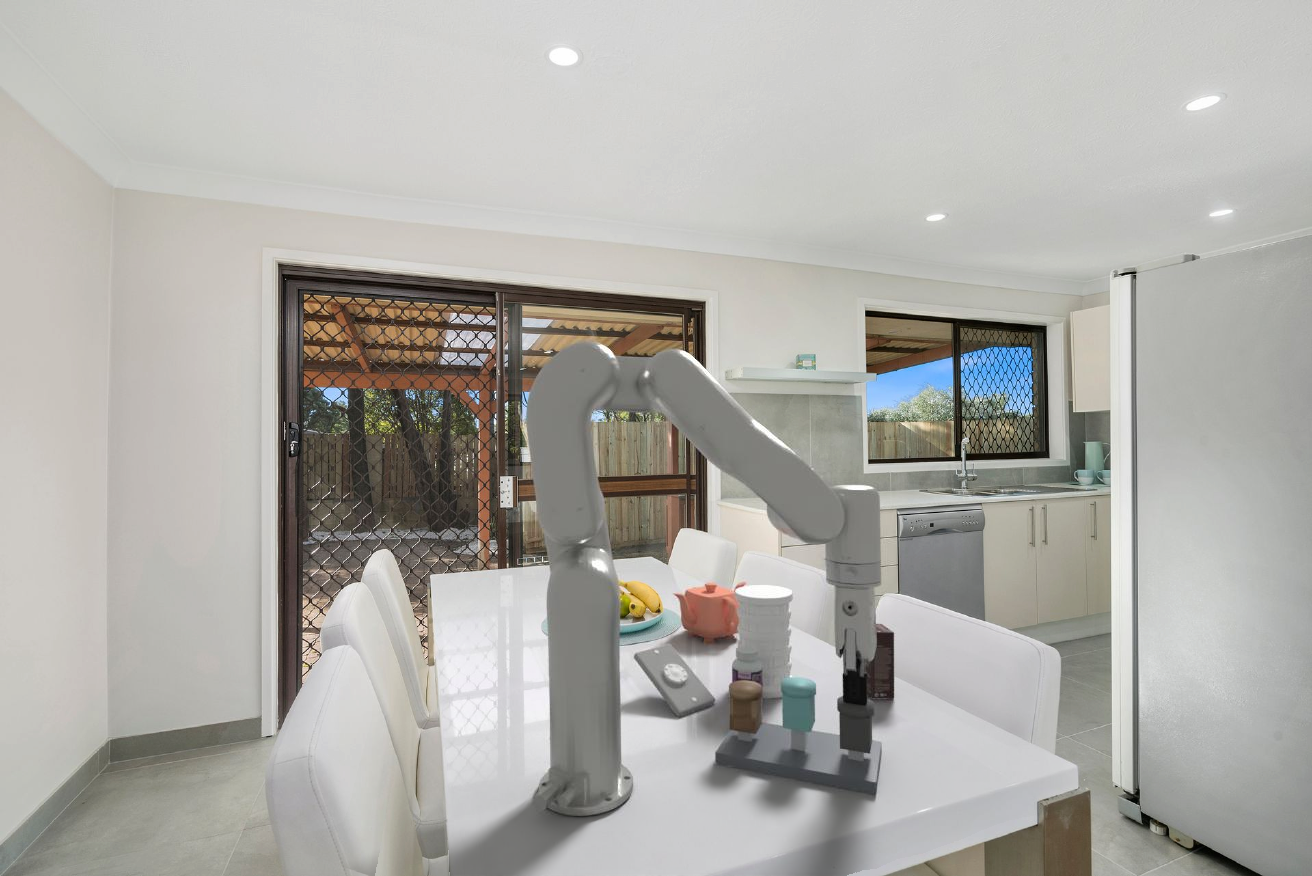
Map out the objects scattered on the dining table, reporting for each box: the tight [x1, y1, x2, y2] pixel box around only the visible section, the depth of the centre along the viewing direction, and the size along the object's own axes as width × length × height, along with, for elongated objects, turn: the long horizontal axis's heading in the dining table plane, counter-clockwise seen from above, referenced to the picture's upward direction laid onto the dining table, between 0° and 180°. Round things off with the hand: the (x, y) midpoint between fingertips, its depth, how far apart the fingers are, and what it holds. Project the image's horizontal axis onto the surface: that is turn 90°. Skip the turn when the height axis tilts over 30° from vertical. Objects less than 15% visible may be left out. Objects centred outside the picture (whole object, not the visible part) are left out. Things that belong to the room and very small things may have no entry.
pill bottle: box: [731, 646, 764, 703], centre depth 111 cm, size 5×5×10 cm
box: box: [864, 623, 895, 701], centre depth 115 cm, size 6×4×12 cm
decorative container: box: [735, 584, 794, 699], centre depth 119 cm, size 12×12×18 cm
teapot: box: [672, 581, 747, 645], centre depth 151 cm, size 15×17×13 cm
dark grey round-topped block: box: [836, 695, 875, 754], centre depth 89 cm, size 5×5×6 cm
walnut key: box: [728, 680, 763, 734], centre depth 95 cm, size 5×5×6 cm
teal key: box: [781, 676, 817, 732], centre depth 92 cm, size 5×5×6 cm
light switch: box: [633, 643, 716, 718], centre depth 114 cm, size 8×6×14 cm
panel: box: [714, 721, 883, 795], centre depth 92 cm, size 12×22×6 cm, turn 67°
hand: (855, 701), depth 89 cm, fingers closed
